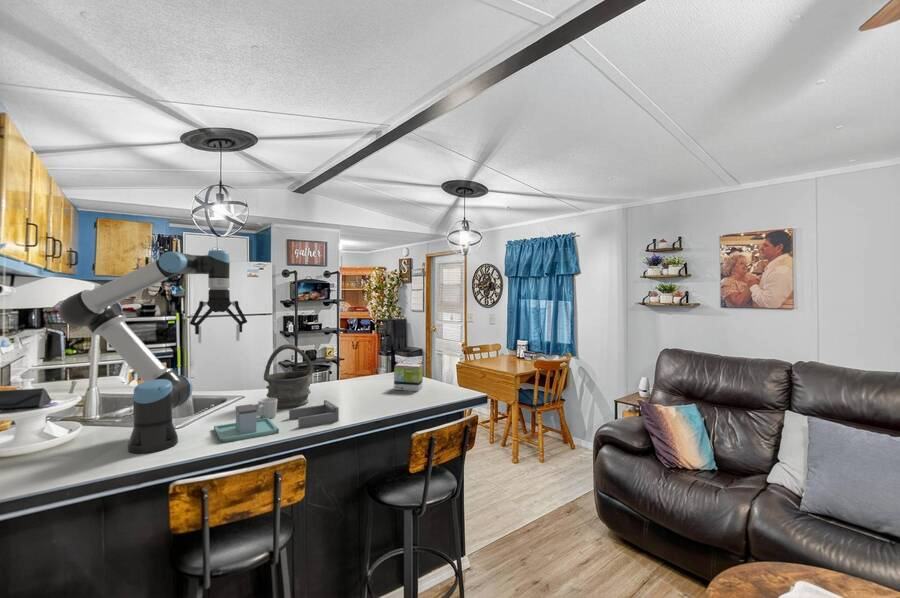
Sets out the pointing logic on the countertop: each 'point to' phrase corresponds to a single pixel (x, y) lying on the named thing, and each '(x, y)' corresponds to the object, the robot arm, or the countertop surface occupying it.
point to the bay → (315, 414)
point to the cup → (267, 407)
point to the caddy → (246, 419)
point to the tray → (231, 434)
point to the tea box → (408, 376)
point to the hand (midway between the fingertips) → (219, 341)
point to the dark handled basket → (288, 382)
